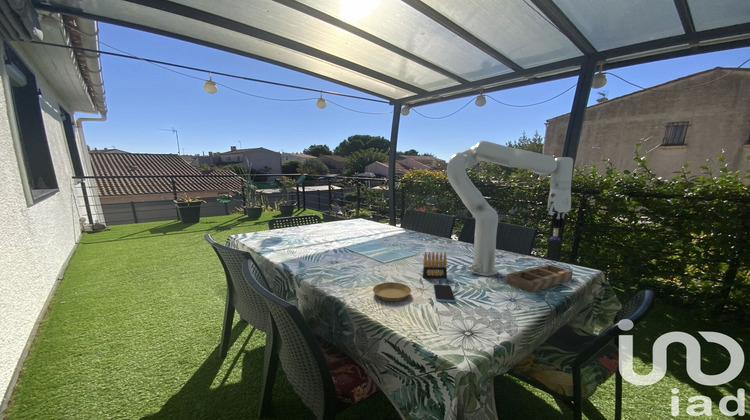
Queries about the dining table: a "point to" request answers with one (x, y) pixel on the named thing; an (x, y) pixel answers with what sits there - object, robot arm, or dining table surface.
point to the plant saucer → (392, 291)
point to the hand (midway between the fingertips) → (556, 227)
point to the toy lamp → (555, 232)
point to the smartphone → (443, 293)
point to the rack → (539, 277)
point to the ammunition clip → (434, 266)
